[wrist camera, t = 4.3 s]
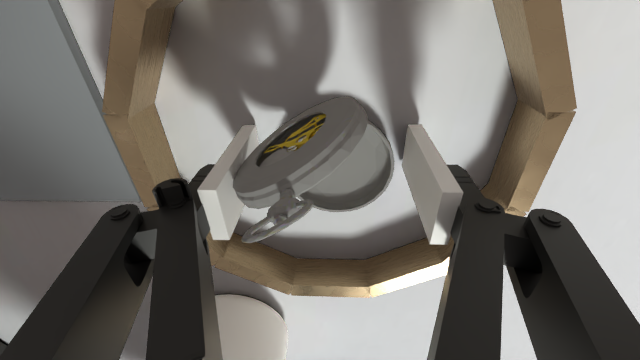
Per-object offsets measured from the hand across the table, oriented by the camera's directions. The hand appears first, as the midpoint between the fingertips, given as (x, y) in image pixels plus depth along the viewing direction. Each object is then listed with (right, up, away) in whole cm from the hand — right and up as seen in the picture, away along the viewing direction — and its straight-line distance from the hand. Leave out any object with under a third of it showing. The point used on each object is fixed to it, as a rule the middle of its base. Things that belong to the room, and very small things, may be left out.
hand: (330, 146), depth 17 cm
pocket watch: (0, 0, 0) cm, 1 cm away
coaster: (-19, +2, 0) cm, 19 cm away
